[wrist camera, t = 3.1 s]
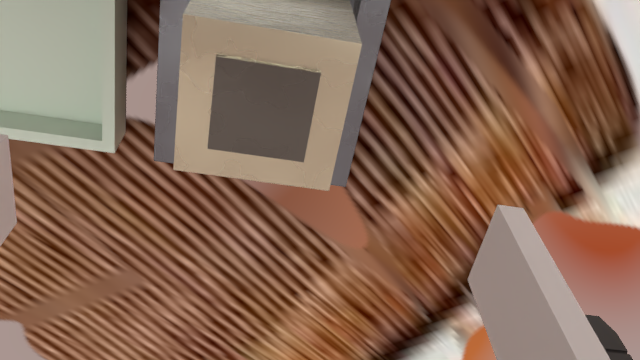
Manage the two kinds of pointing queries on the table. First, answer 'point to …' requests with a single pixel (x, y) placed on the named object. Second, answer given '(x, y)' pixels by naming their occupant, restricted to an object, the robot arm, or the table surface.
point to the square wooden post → (265, 89)
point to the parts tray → (64, 72)
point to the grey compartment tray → (370, 18)
